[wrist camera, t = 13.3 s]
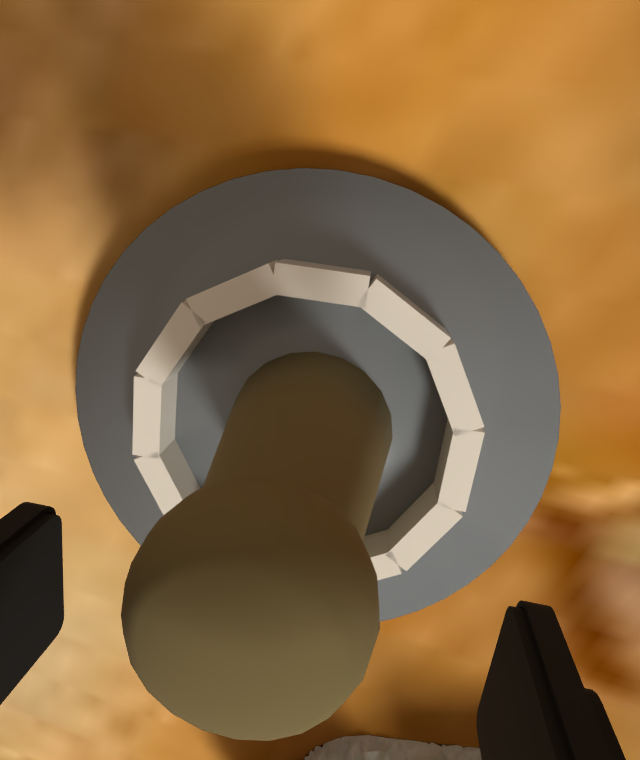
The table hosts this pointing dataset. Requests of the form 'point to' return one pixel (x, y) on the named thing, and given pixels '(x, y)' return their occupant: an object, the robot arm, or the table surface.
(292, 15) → the table surface
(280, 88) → the table surface
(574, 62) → the table surface
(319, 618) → the cork
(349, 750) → the ceramic cottage
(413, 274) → the round tray
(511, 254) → the table surface
